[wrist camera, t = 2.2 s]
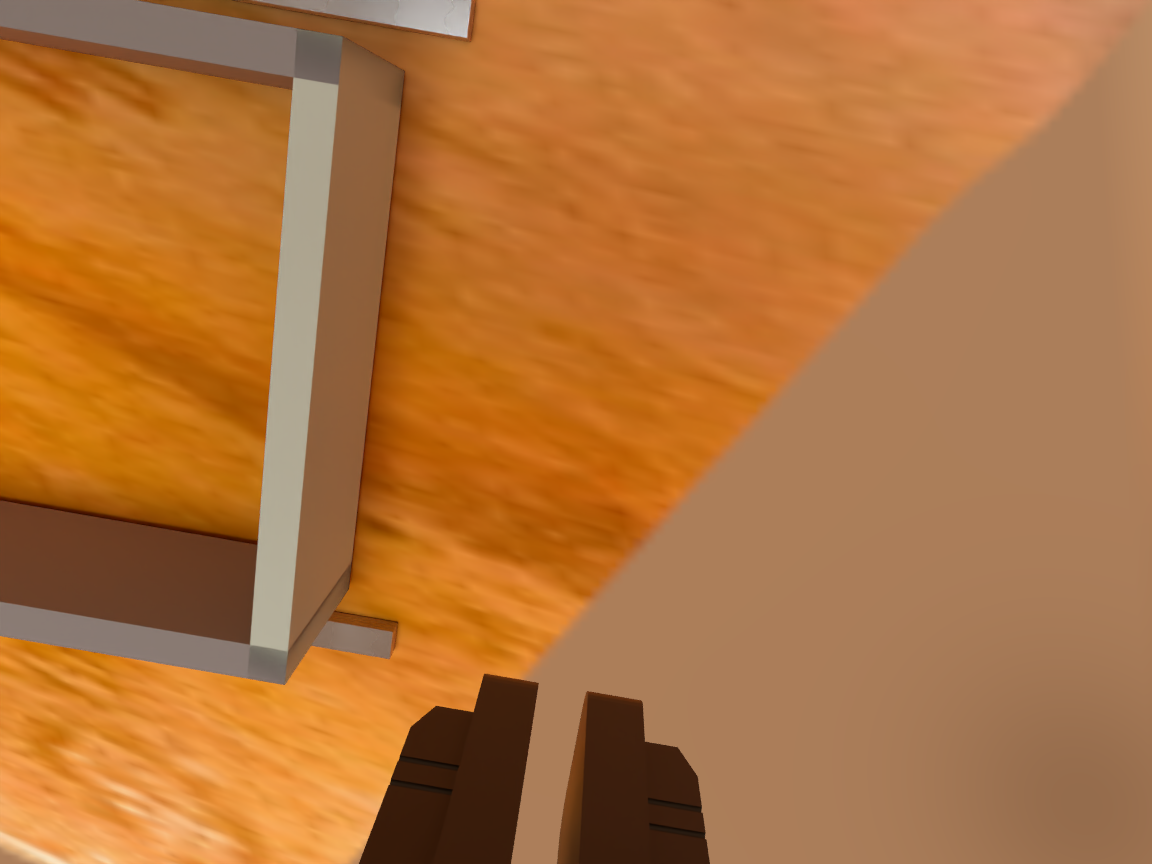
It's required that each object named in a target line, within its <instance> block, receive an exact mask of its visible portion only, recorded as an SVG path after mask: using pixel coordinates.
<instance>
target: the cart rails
mask: <svg viewBox="0 0 1152 864" xmlns="http://www.w3.org/2000/svg"><path fill="white" fill-rule="evenodd" d="M234 1H240V2H245V3H251V4H257V5H263V6H268V7H274V8H280V9H285V10H291V11H297V12H303V13H308V14H314V15H320V16H325V17H331V18H337V19H343V20H348V21H354V22H360V23H366V24H371V25H377V26H383V27H388V28H394V29H400V30H406V31H411V32H417V33H423V34H428V35H434V36H440V37H446V38H451V39H457V40H463V41H468V42H471V35H472V27H473V19H474V11H475V2H474V1H473V0H234ZM397 624H398V622H392V621H386V620H381V619H375V618H369V617H363V616H357V615H352V614H346V613H340V612H333V613H332V615H331V616H330V618H329V619H328V621H327V622H326V624H325V625H324V627H323V628H322V630H321V631H320V633H319V634H318V636H317V637H316V639H315V640H314V642H313V643H312V645H311V646H317V647H323V648H328V649H334V650H340V651H346V652H352V653H357V654H363V655H369V656H375V657H381V658H386V659H390V657H391V655H392V653H393V651H394V648H395V640H396V632H397Z"/></svg>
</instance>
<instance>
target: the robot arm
mask: <svg viewBox="0 0 1152 864" xmlns="http://www.w3.org/2000/svg"><path fill="white" fill-rule="evenodd" d="M538 684H539V683H536V682H530V681H524V680H519V679H513V678H507V677H501V676H495V675H490V674H484V676H483V680H482V683H481V687H480V691H479V694H478V698H477V702H476V706H475V709H474V712H469V711H463V710H457V709H451V708H446V707H440V706H435V707H434V708H433V709H432V710H431V711H429V712H428V713H427V714H426V715H425V716H423V717H422V718H421V719H420V720H419V721H417V722H416V723H415V724H414V725H413V726H412V727H411V728H410V731H409V733H408V736H407V738H406V741H405V744H404V746H403V749H402V752H401V754H400V758H399V761H398V762H397V765H396V767H395V770H394V773H393V775H392V778H391V782H390V785H389V786H388V788H387V791H386V794H385V796H384V799H383V802H382V804H381V807H380V810H379V812H378V815H377V817H376V820H375V823H374V825H373V828H372V831H371V833H370V836H369V838H368V841H367V844H366V846H365V849H364V852H363V854H362V857H361V860H360V862H359V864H511V859H512V852H513V846H514V840H515V833H516V827H517V820H518V814H519V808H520V801H521V795H522V788H523V782H524V775H525V769H526V762H527V756H528V749H529V743H530V736H531V730H532V723H533V717H534V710H535V703H536V697H537V690H538ZM701 809H702V805H701V798H700V791H699V784H698V777H697V775H696V773H695V772H694V771H693V769H692V768H691V766H690V765H689V763H688V762H687V760H686V759H685V757H684V756H683V755H682V753H681V752H680V750H679V749H678V748H677V747H673V746H667V745H661V744H655V743H649V742H645V737H644V719H643V703H642V701H641V700H634V699H629V698H623V697H618V696H612V695H606V694H600V693H594V692H589V691H587V693H586V696H585V699H584V704H583V709H582V714H581V719H580V725H579V729H578V735H577V740H576V745H575V750H574V756H573V761H572V766H571V771H570V776H569V781H568V787H567V792H566V798H565V803H564V809H563V816H562V823H561V830H560V839H559V850H558V861H557V864H710V862H709V856H708V848H707V841H706V839H705V826H704V819H703V813H701Z"/></svg>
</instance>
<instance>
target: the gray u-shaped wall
mask: <svg viewBox="0 0 1152 864" xmlns="http://www.w3.org/2000/svg"><path fill="white" fill-rule="evenodd" d="M0 39H4V40H10V41H16V42H22V43H27V44H33V45H39V46H45V47H50V48H56V49H62V50H67V51H73V52H79V53H85V54H90V55H96V56H102V57H108V58H113V59H119V60H125V61H130V62H136V63H142V64H148V65H153V66H159V67H165V68H171V69H176V70H182V71H188V72H194V73H199V74H205V75H211V76H216V77H222V78H228V79H234V80H239V81H245V82H251V83H257V84H262V85H268V86H274V87H279V88H285V89H291V90H292V103H291V116H290V129H289V142H288V155H287V169H286V182H285V195H284V208H283V221H282V234H281V247H280V260H279V273H278V286H277V299H276V312H275V325H274V338H273V351H272V364H271V377H270V390H269V404H268V417H267V430H266V443H265V456H264V469H263V482H262V495H261V508H260V521H259V534H258V545H256V544H250V543H244V542H238V541H232V540H227V539H221V538H215V537H209V536H203V535H198V534H192V533H186V532H180V531H175V530H169V529H163V528H157V527H151V526H146V525H140V524H134V523H128V522H122V521H117V520H111V519H105V518H99V517H93V516H88V515H82V514H76V513H70V512H64V511H59V510H53V509H47V508H41V507H36V506H30V505H24V504H18V503H12V502H7V501H1V500H0V636H4V637H10V638H15V639H21V640H27V641H33V642H39V643H45V644H50V645H56V646H62V647H68V648H74V649H79V650H85V651H91V652H97V653H103V654H108V655H114V656H120V657H126V658H132V659H137V660H143V661H149V662H155V663H161V664H166V665H172V666H178V667H184V668H190V669H196V670H201V671H207V672H213V673H219V674H225V675H230V676H236V677H242V678H248V679H254V680H259V681H265V682H271V683H277V684H283V685H285V684H286V682H287V681H288V679H289V678H290V676H291V675H292V673H293V672H294V670H295V669H296V667H297V666H298V664H299V663H300V661H301V660H302V658H303V657H304V655H305V654H306V652H307V651H308V649H309V648H310V646H311V645H312V643H313V642H314V640H315V639H316V637H317V636H318V634H319V633H320V631H321V630H322V628H323V627H324V625H325V624H326V622H327V621H328V619H329V618H330V616H331V615H332V613H333V612H334V610H335V609H336V607H337V606H338V604H339V603H340V601H341V600H342V598H343V597H344V595H345V594H346V592H347V591H348V589H349V582H350V573H351V564H352V554H353V545H354V536H355V527H356V517H357V508H358V499H359V489H360V480H361V471H362V462H363V452H364V443H365V434H366V425H367V415H368V406H369V397H370V388H371V378H372V369H373V360H374V351H375V341H376V332H377V323H378V313H379V304H380V295H381V286H382V276H383V267H384V258H385V249H386V239H387V230H388V221H389V212H390V202H391V193H392V184H393V175H394V165H395V156H396V147H397V137H398V128H399V119H400V110H401V100H402V91H403V82H404V73H405V71H404V70H402V69H400V68H398V67H396V66H395V65H393V64H391V63H389V62H388V61H386V60H384V59H382V58H380V57H379V56H377V55H375V54H373V53H372V52H370V51H368V50H366V49H364V48H363V47H361V46H359V45H357V44H356V43H354V42H352V41H350V40H348V39H347V38H345V37H343V36H338V35H332V34H326V33H320V32H315V31H309V30H303V29H298V28H292V27H286V26H280V25H275V24H269V23H263V22H257V21H252V20H246V19H240V18H235V17H229V16H223V15H217V14H212V13H206V12H200V11H195V10H189V9H183V8H177V7H172V6H166V5H160V4H154V3H149V2H143V1H137V0H0Z"/></svg>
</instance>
